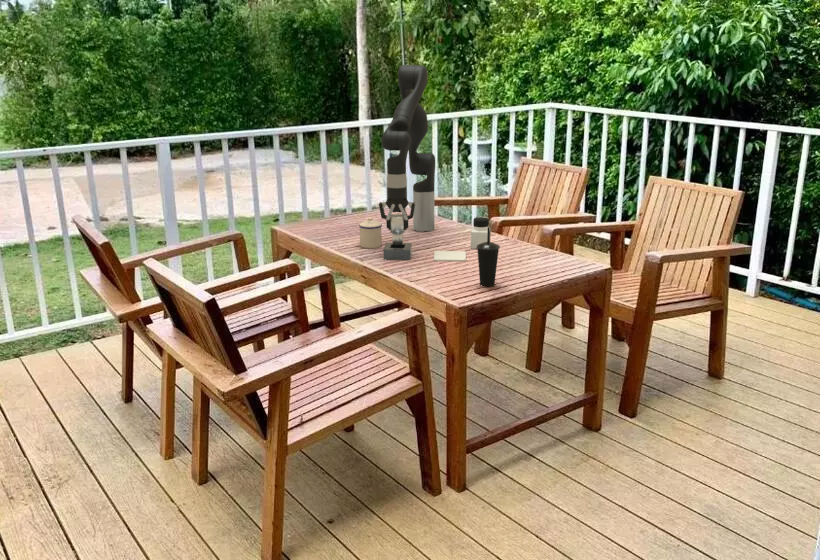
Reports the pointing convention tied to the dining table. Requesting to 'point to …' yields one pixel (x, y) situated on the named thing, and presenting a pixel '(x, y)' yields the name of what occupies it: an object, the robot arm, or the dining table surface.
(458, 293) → the dining table surface
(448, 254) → the pad
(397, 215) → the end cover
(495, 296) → the dining table surface
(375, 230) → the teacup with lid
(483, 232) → the medicine bottle
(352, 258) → the dining table surface
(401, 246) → the housing
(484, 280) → the drinking cup
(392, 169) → the robot arm
